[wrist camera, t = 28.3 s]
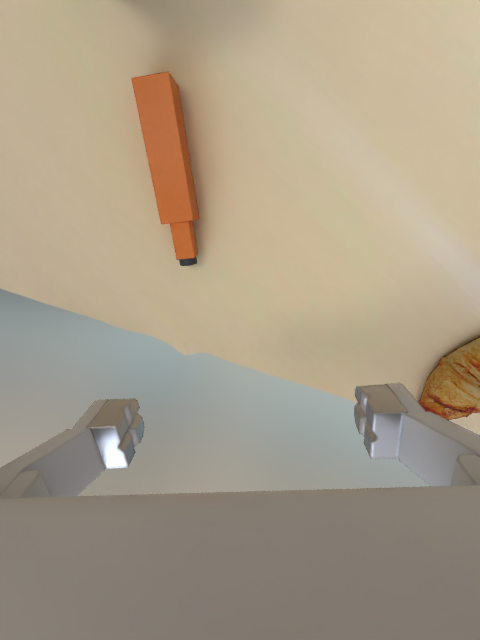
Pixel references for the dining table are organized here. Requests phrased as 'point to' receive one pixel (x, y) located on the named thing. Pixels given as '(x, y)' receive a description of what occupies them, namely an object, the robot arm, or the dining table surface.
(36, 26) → the dining table surface
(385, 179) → the dining table surface
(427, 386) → the croissant
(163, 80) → the long orange stepped prism
